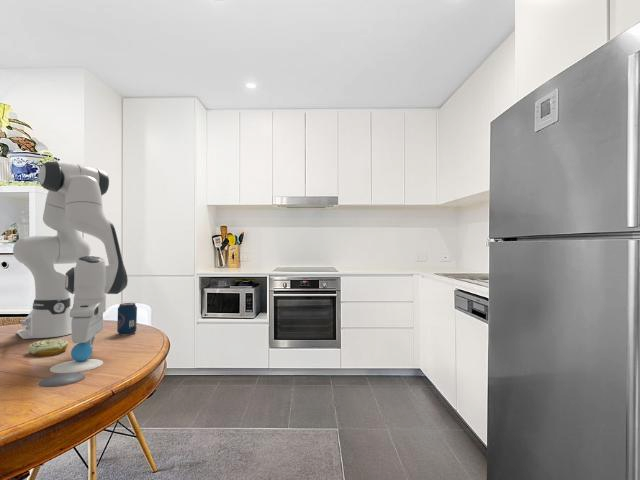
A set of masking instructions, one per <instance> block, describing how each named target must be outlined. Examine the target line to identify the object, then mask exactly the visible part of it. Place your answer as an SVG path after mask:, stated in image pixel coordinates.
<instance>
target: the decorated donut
mask: <svg viewBox="0 0 640 480" xmlns="http://www.w3.org/2000/svg"><path fill="white" fill-rule="evenodd" d="M68 343H69V342H68V341H67V340H66V339H60V338H58V339H57V338H51V339H49V338H48V339H44V340H38V341H34V342H33V343H31V344H29V345H28V351H29V353H30V354H31V355H32V356H36V357H50V356H54V355H58V354H62V353H63V352H65V351H66V350H67V349H68V346H69V344H68Z"/></svg>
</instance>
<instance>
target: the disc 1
mask: <svg viewBox="0 0 640 480" xmlns="http://www.w3.org/2000/svg"><path fill="white" fill-rule="evenodd" d="M85 378H86V375H85V374H84V373H83V372H76V373H57V374H53V375H50V376H47V377H44V378H42V379H40V380H39V381H38V385H39V386H40V387H45V388H47V387H48V388H51V387H53V388H54V387H55V388H56V387H61V386H68V385H72V384H75V383H78V382H81V381H82V380H84V379H85Z"/></svg>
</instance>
